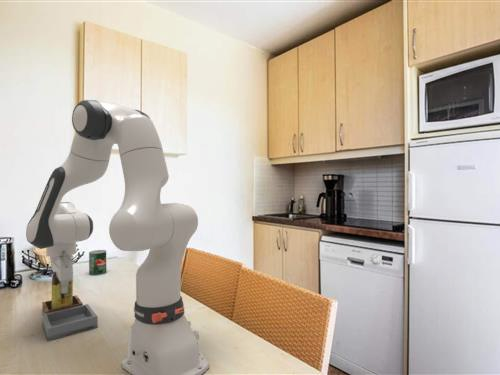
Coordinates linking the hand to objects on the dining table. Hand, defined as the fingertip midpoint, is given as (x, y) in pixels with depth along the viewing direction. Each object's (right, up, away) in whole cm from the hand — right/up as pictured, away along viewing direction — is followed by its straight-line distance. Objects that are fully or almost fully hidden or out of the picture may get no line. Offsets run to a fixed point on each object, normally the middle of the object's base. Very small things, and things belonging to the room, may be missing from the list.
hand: (62, 288), depth 107 cm
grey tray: (+9, -8, -10) cm, 16 cm away
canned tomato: (-12, -8, +49) cm, 51 cm away
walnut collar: (0, -8, 0) cm, 8 cm away
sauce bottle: (0, -9, 0) cm, 9 cm away
